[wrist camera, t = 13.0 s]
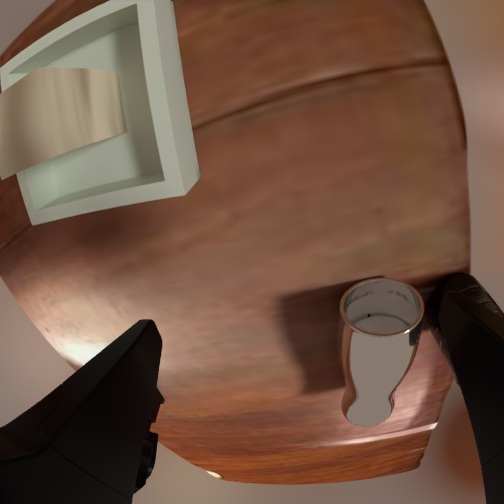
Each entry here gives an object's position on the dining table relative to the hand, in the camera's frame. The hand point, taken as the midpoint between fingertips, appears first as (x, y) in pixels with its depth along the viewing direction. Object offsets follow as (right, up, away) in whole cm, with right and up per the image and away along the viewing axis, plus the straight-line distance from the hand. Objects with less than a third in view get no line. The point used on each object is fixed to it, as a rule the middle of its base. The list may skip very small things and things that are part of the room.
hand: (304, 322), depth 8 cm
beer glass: (+11, -15, +19) cm, 26 cm away
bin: (-12, +12, +9) cm, 19 cm away
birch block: (-12, +12, +8) cm, 19 cm away
